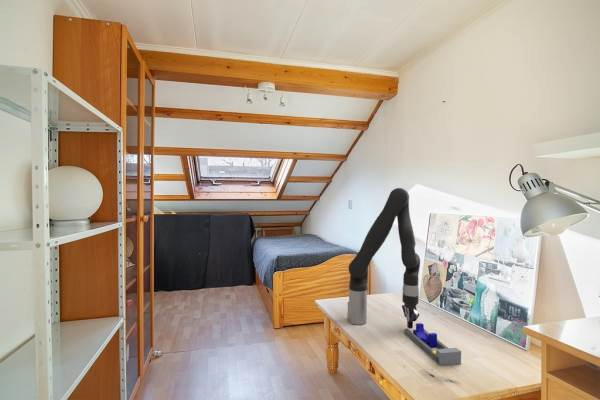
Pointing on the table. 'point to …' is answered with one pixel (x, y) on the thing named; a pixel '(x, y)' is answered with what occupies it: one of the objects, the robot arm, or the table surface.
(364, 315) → the robot arm
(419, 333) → the blue u-shaped block
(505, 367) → the table surface
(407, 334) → the grey u-shaped bracket
